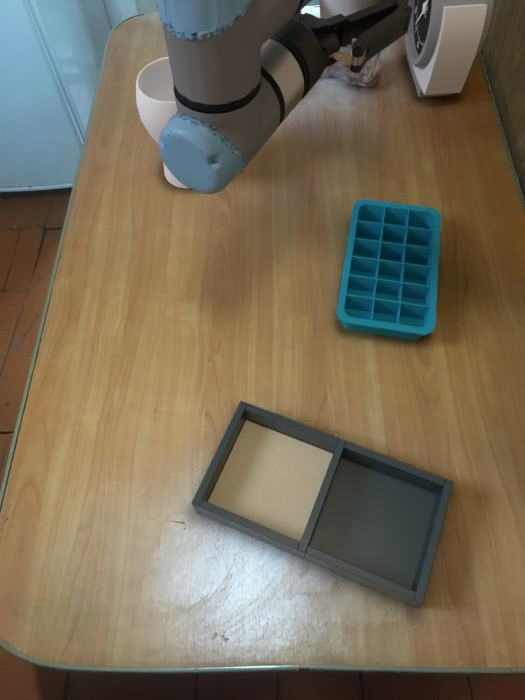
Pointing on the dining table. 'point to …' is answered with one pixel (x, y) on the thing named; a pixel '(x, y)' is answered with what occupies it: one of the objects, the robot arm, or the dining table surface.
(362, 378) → the dining table surface
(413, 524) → the divided tray
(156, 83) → the cup
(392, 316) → the ice cube tray
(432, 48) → the alarm clock
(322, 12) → the foam cup
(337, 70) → the stone
